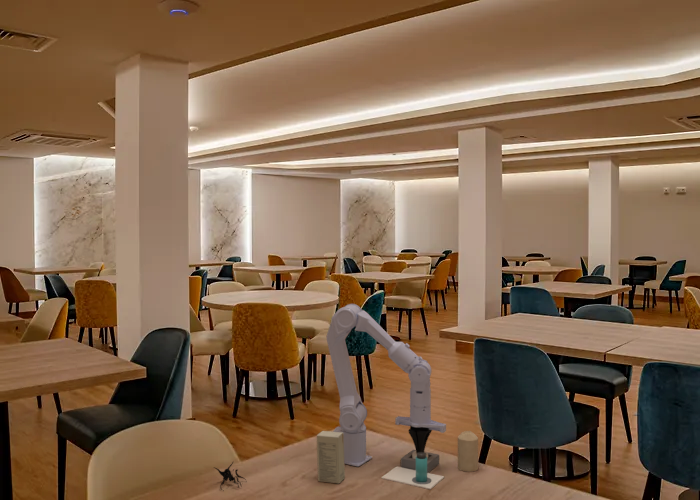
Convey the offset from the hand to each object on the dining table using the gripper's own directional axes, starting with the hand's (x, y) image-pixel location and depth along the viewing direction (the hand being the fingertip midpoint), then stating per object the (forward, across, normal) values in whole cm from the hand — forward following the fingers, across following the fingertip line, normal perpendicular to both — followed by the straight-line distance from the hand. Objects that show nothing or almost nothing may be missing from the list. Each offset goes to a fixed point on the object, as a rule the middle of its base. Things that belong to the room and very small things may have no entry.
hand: (420, 453), depth 174 cm
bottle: (+3, +5, -10) cm, 12 cm away
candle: (+4, +12, +5) cm, 13 cm away
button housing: (+3, 0, 0) cm, 3 cm away
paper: (+3, +2, -9) cm, 10 cm away
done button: (+3, 0, 0) cm, 3 cm away
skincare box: (+3, -16, -21) cm, 27 cm away
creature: (+4, -36, -37) cm, 52 cm away
